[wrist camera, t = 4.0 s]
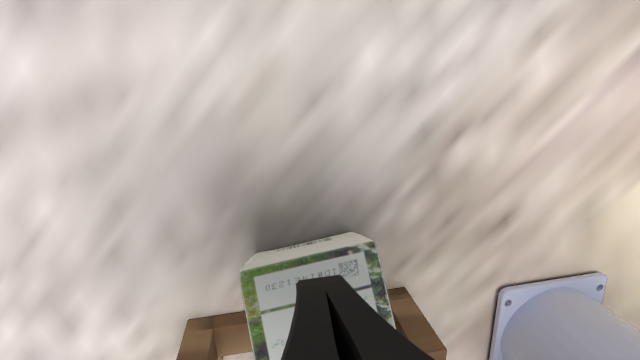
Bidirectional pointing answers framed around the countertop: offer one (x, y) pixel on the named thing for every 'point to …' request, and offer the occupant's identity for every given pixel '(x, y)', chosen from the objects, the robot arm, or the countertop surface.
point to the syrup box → (298, 264)
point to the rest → (233, 338)
